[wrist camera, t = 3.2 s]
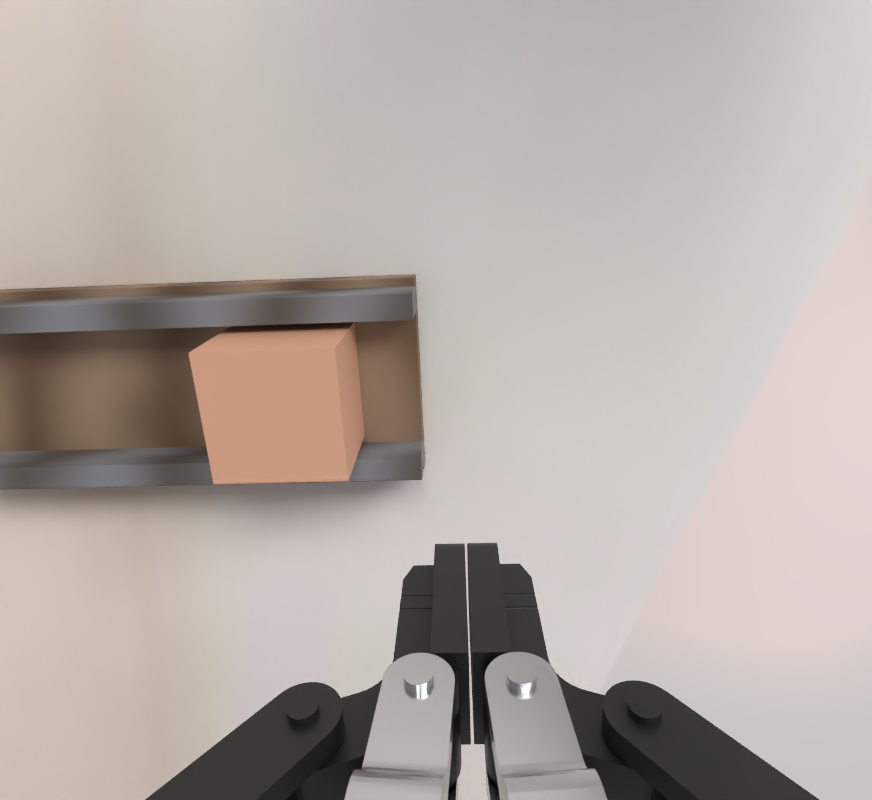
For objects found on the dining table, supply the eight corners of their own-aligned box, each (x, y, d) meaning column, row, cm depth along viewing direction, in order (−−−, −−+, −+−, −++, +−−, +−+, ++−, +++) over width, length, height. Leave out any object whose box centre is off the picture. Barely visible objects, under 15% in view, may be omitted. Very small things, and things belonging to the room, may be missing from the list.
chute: (415, 274, 28) (411, 283, 25) (424, 460, 32) (422, 486, 29) (-62, 291, 29) (-117, 302, 26) (-2, 470, 32) (-46, 497, 30)
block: (354, 321, 28) (334, 348, 23) (364, 435, 30) (348, 481, 25) (232, 325, 28) (188, 353, 24) (250, 438, 30) (213, 484, 26)
